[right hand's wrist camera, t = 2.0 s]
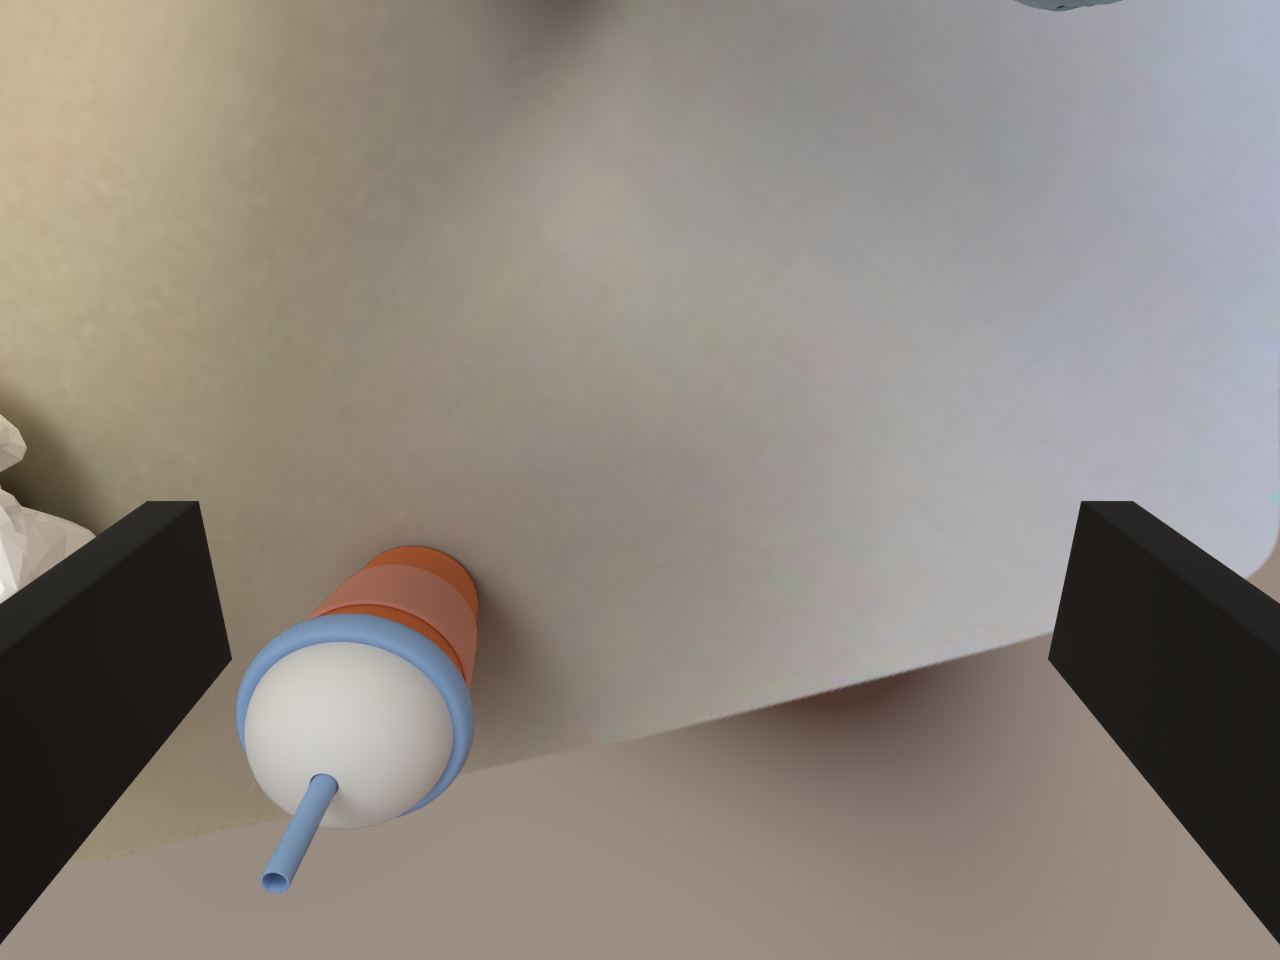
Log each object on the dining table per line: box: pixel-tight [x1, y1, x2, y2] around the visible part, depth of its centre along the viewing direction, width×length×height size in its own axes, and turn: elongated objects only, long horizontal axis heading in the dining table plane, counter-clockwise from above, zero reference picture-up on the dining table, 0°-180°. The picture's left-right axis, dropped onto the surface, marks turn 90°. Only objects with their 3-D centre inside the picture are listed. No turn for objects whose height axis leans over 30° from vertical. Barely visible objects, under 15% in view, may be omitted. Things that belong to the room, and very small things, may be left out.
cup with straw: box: [236, 546, 478, 894], centre depth 33 cm, size 9×9×18 cm
